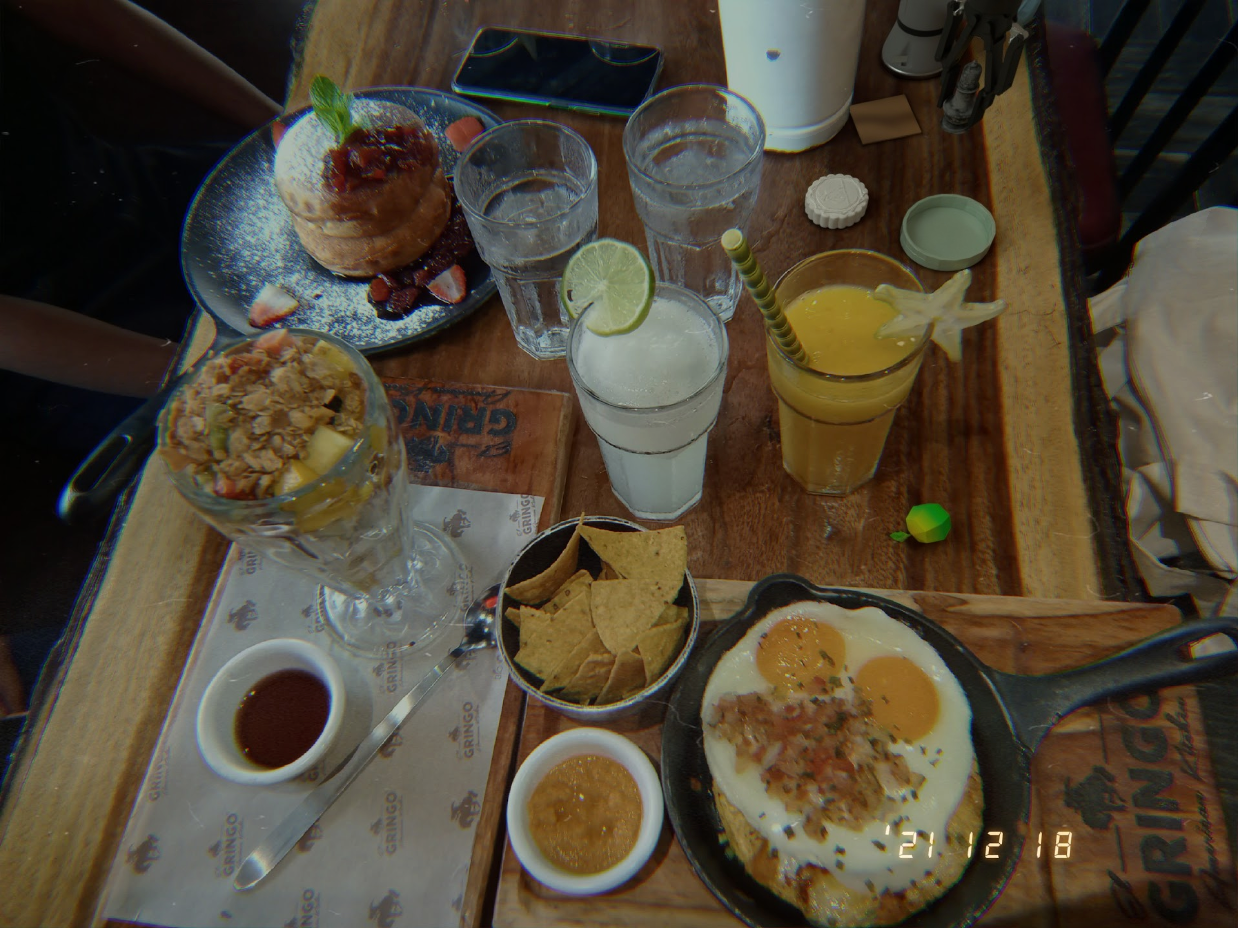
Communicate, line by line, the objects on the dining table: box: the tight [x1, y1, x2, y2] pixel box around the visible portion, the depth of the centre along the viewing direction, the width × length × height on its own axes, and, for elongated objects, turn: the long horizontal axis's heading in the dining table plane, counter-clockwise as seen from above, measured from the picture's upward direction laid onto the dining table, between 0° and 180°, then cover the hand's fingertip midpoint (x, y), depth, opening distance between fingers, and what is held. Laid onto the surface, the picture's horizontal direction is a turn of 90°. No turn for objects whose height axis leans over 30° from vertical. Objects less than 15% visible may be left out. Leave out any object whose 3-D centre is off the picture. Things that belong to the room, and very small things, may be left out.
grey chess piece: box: [939, 58, 983, 135], centre depth 120 cm, size 6×6×12 cm
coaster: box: [849, 93, 922, 146], centre depth 154 cm, size 12×12×1 cm
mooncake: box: [804, 173, 869, 230], centre depth 144 cm, size 12×12×4 cm
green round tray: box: [899, 193, 997, 272], centre depth 138 cm, size 16×16×3 cm
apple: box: [889, 502, 952, 544], centre depth 112 cm, size 7×6×9 cm
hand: (959, 112), depth 124 cm, fingers closed on grey chess piece, 6 cm apart
